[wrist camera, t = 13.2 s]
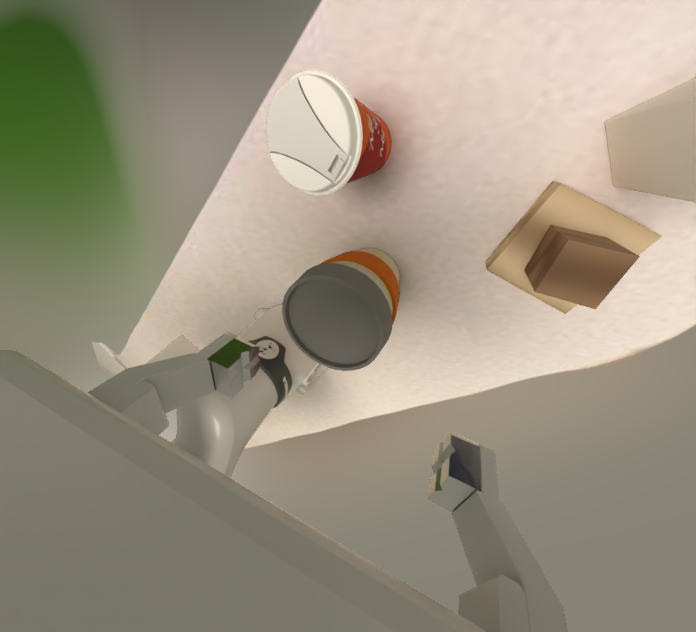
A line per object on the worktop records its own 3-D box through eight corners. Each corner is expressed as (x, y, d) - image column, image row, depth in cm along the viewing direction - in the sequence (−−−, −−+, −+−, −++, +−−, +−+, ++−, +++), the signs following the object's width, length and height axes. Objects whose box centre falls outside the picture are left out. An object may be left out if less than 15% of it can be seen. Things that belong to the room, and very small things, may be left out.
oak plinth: (558, 302, 32) (565, 313, 29) (485, 261, 33) (486, 269, 30) (644, 228, 26) (662, 235, 23) (552, 181, 27) (560, 183, 24)
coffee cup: (416, 135, 29) (379, 119, 17) (372, 197, 34) (320, 218, 22) (360, 82, 29) (283, 30, 17) (324, 154, 34) (245, 152, 22)
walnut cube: (573, 283, 28) (595, 309, 23) (523, 269, 29) (534, 291, 24) (607, 237, 25) (639, 256, 20) (550, 224, 26) (568, 239, 21)
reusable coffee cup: (430, 280, 37) (412, 339, 25) (373, 325, 44) (337, 387, 32) (368, 215, 35) (318, 245, 24) (320, 273, 43) (263, 317, 31)
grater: (203, 376, 77) (134, 433, 61) (176, 353, 76) (99, 404, 60) (212, 360, 70) (137, 419, 54) (182, 334, 69) (97, 386, 54)
